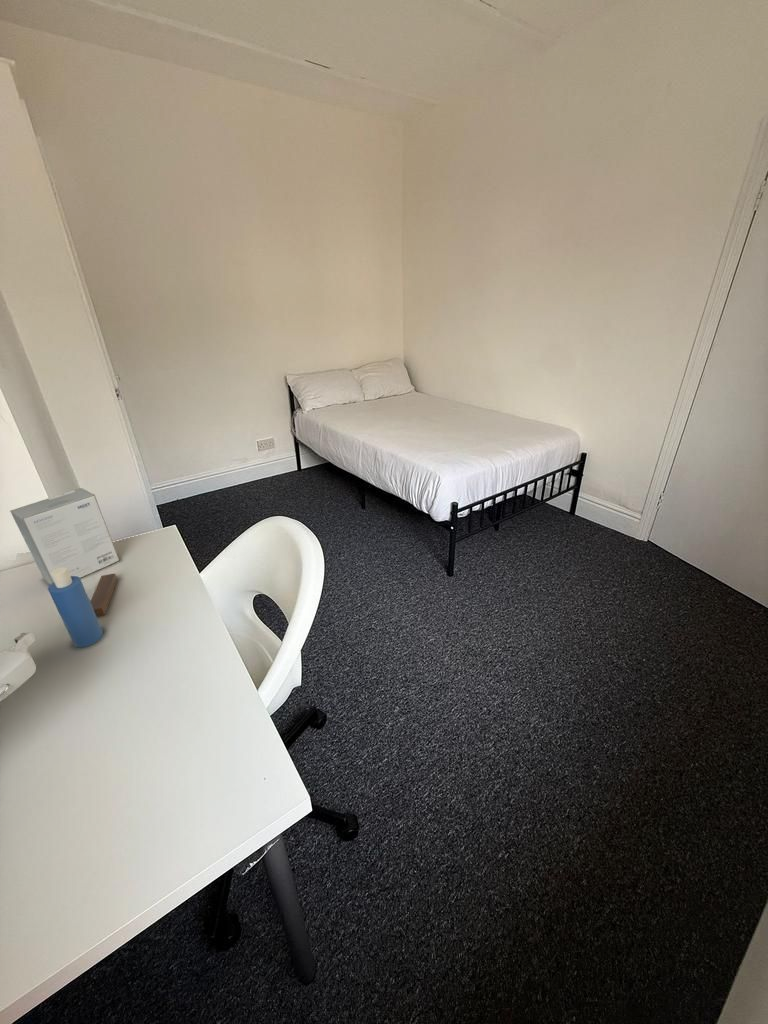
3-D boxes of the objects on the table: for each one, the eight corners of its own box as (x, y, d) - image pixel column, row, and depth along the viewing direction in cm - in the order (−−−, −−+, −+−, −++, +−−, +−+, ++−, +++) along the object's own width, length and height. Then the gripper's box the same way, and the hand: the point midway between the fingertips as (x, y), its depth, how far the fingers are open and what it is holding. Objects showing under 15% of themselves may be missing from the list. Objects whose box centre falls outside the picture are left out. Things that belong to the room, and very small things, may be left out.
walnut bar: (88, 618, 92) (85, 611, 91) (103, 582, 104) (101, 575, 103) (104, 615, 93) (101, 608, 92) (117, 579, 105) (114, 573, 104)
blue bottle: (70, 650, 83) (37, 581, 76) (77, 633, 88) (47, 566, 80) (100, 643, 85) (70, 575, 77) (105, 627, 89) (78, 561, 82)
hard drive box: (107, 552, 116) (83, 487, 107) (120, 561, 112) (96, 493, 103) (42, 579, 105) (8, 509, 96) (54, 590, 101) (20, 518, 92)
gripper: (-27, 696, 54) (55, 622, 66) (-170, 687, 55) (-64, 617, 68) (-6, 727, 57) (69, 651, 69) (-142, 719, 58) (-45, 645, 71)
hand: (2, 634), depth 68 cm, fingers open, 8 cm apart
